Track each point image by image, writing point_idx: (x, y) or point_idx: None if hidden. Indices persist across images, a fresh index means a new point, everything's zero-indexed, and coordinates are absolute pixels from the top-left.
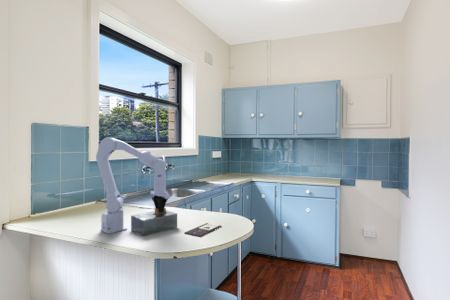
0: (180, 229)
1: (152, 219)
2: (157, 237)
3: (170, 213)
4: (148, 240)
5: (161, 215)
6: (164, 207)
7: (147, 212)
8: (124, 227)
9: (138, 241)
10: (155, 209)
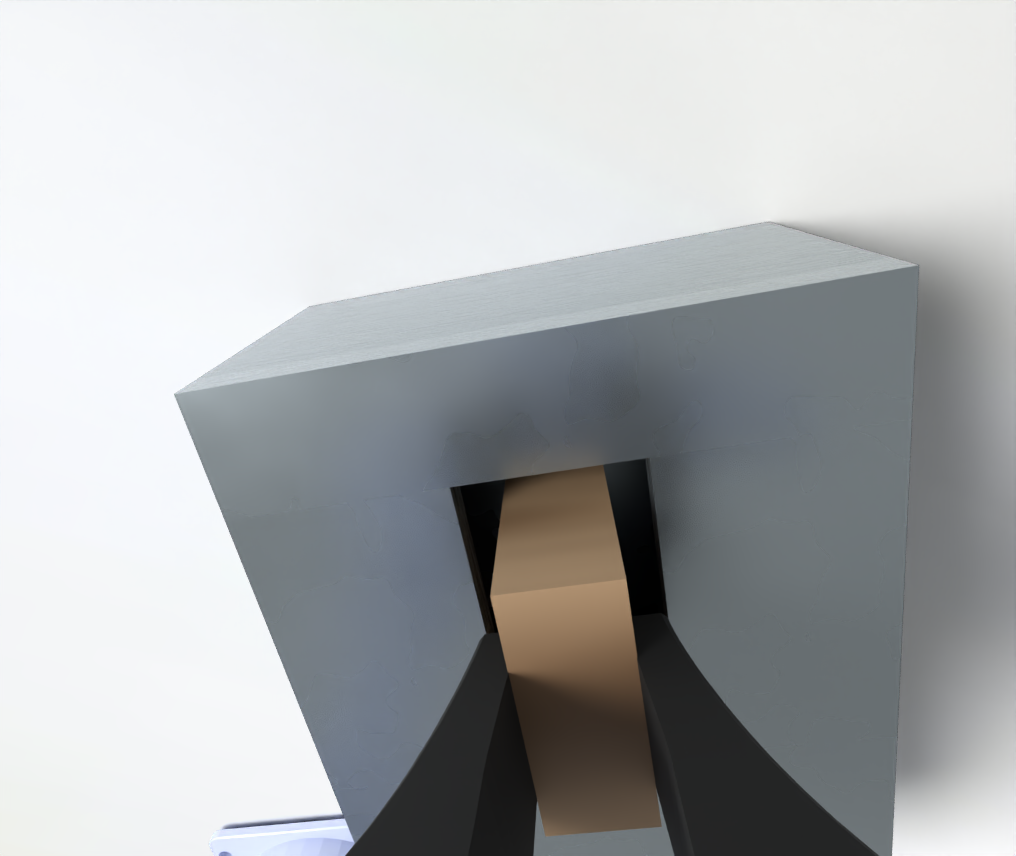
0: (911, 216)
1: (882, 853)
2: (971, 654)
3: (769, 433)
4: (982, 760)
5: (788, 673)
6: (699, 678)
7: (334, 787)
8: (344, 831)
9: (920, 836)
10: (583, 825)
